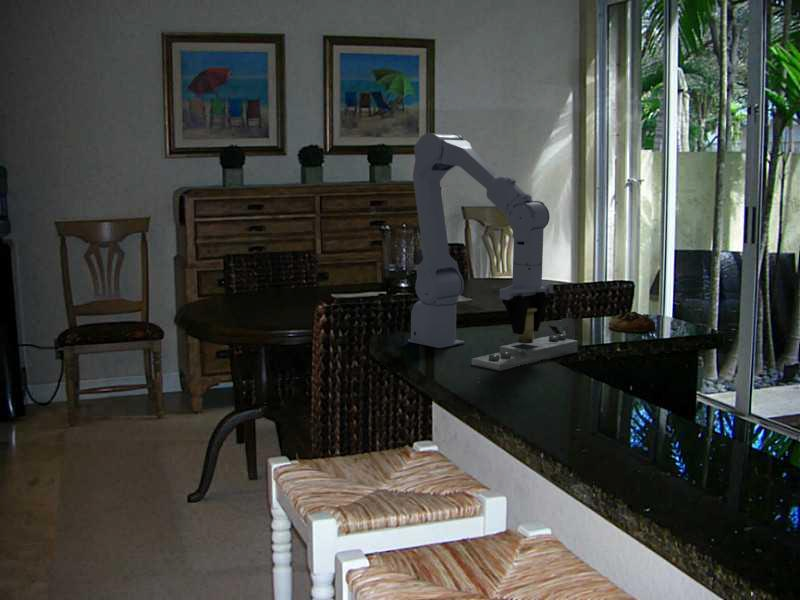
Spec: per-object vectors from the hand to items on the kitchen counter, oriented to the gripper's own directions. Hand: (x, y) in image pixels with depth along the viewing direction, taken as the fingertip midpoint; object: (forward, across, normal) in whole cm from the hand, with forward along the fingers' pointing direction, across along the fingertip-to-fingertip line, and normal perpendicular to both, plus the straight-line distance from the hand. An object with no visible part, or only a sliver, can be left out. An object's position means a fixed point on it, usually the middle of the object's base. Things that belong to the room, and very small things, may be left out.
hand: (525, 332), depth 187 cm
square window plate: (+5, -4, 0) cm, 7 cm away
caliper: (+6, +28, +12) cm, 31 cm away
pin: (+2, 0, 0) cm, 2 cm away
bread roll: (+6, +45, +4) cm, 45 cm away
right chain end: (+5, +5, 0) cm, 7 cm away
